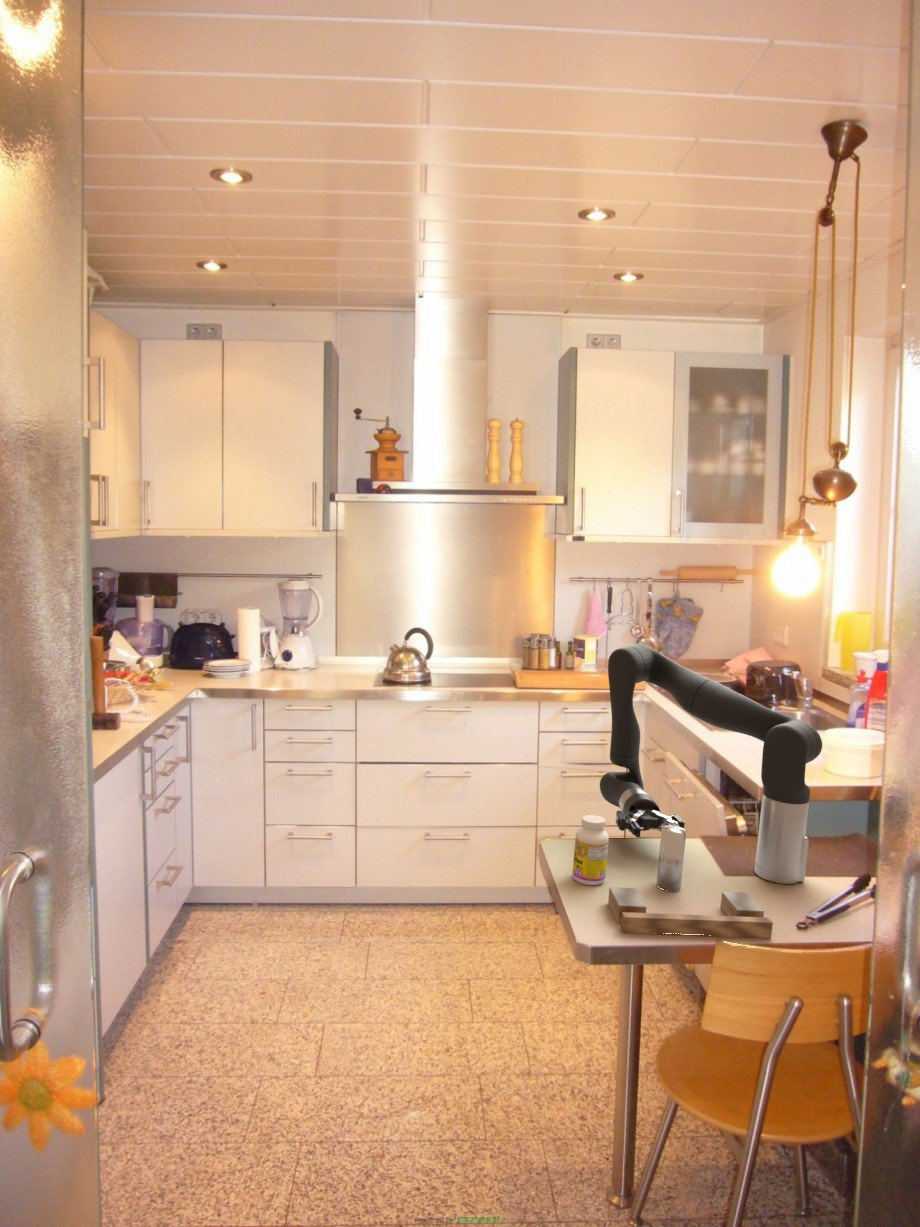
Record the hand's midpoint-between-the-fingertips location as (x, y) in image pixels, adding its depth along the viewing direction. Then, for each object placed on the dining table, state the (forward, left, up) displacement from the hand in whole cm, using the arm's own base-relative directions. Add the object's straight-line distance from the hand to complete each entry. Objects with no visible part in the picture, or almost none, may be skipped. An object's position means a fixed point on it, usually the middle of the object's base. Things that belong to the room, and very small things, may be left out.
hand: (658, 834), depth 190 cm
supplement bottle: (+16, +7, -8) cm, 19 cm away
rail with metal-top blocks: (+1, +24, -7) cm, 26 cm away
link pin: (0, +9, -8) cm, 12 cm away
